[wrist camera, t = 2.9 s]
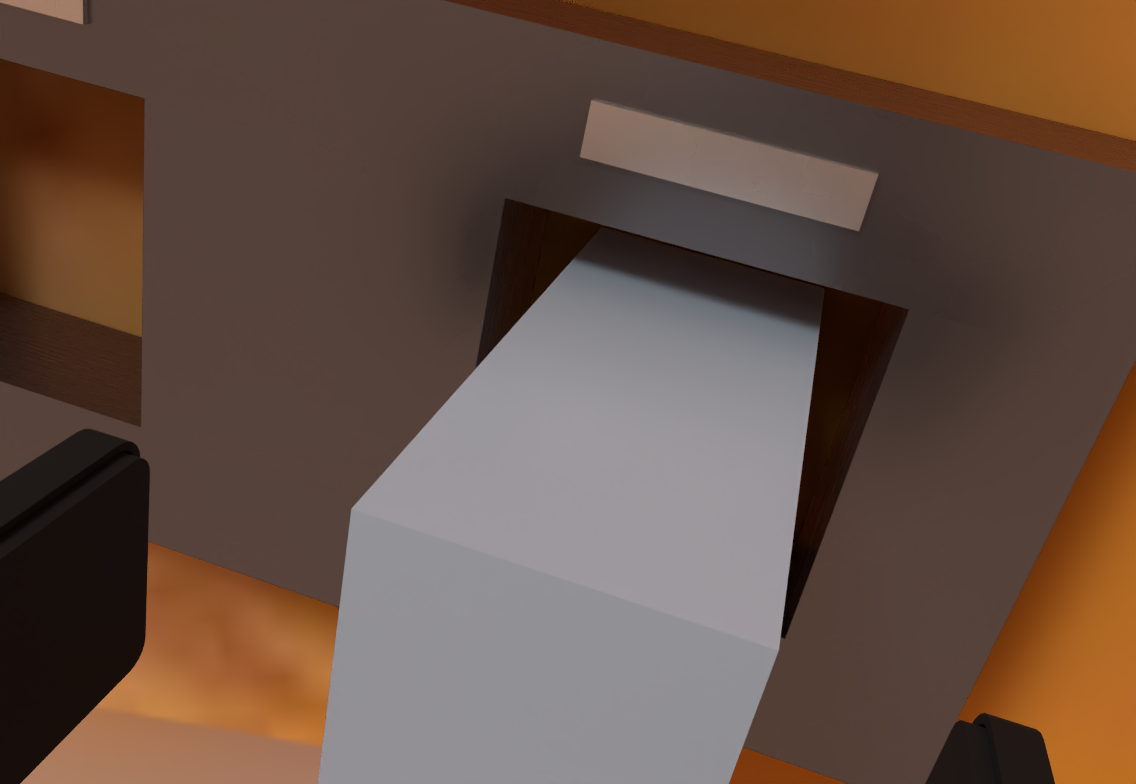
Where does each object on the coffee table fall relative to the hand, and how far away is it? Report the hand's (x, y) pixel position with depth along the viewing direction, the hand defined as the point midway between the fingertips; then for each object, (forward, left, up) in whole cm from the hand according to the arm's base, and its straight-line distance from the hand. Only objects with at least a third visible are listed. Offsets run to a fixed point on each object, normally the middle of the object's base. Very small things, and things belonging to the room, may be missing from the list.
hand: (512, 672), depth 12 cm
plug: (0, 0, -9) cm, 9 cm away
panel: (+6, 0, -9) cm, 10 cm away
